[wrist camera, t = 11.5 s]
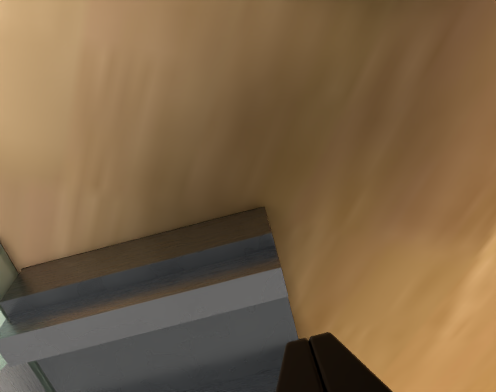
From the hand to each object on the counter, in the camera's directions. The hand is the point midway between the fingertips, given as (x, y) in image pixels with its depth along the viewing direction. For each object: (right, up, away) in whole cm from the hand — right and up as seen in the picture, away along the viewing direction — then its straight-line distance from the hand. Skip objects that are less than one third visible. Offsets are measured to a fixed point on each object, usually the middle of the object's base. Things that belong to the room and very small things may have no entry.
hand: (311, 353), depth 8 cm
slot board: (-5, -3, +14) cm, 16 cm away
